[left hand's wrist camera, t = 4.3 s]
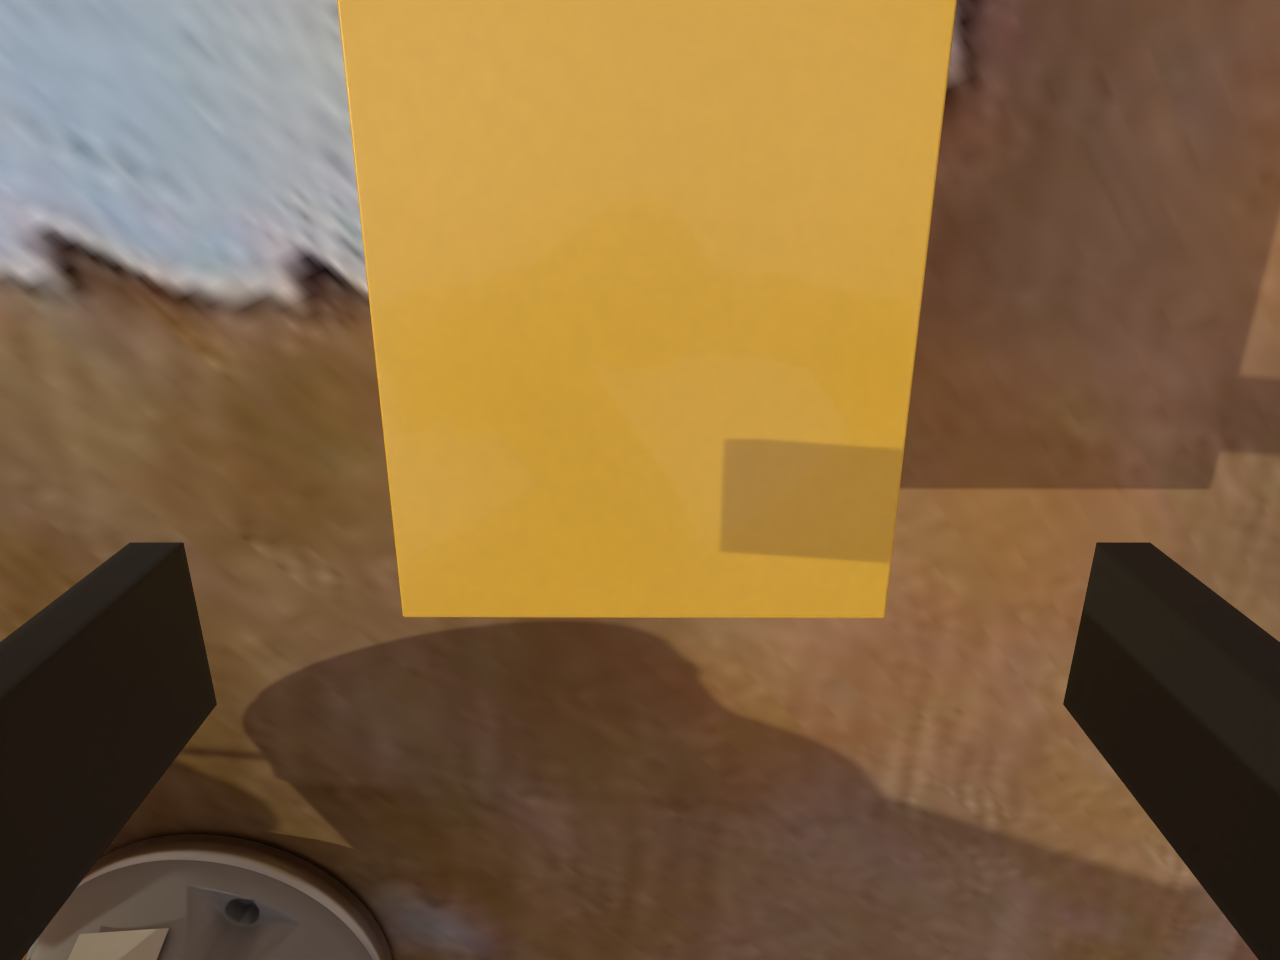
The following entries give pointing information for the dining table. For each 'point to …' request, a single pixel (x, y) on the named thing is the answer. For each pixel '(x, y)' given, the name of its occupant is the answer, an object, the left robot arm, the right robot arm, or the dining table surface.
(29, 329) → the dining table surface
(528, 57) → the yellow rectangular block
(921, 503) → the dining table surface
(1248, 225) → the dining table surface
